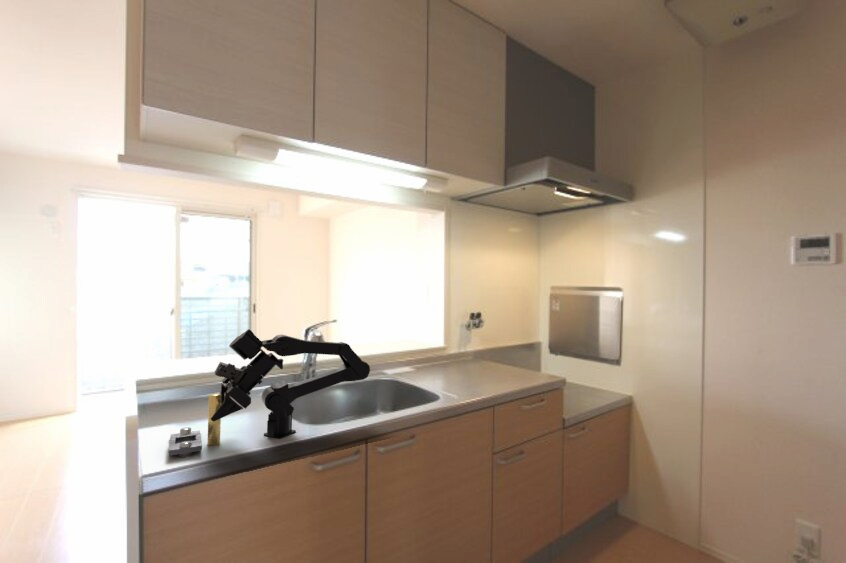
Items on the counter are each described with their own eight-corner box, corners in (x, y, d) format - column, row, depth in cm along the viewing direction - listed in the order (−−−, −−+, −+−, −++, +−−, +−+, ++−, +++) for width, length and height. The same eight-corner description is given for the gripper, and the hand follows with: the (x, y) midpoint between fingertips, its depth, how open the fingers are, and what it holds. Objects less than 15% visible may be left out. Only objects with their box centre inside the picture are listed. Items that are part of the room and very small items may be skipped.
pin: (214, 441, 109) (216, 393, 110) (222, 443, 108) (224, 394, 108) (204, 444, 106) (206, 395, 107) (212, 446, 105) (214, 396, 106)
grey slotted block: (170, 438, 111) (171, 427, 111) (199, 434, 114) (199, 424, 114) (168, 460, 96) (168, 448, 96) (201, 455, 100) (202, 443, 100)
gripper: (231, 347, 118) (186, 389, 112) (238, 356, 102) (187, 405, 96) (259, 372, 122) (217, 413, 116) (270, 384, 106) (222, 433, 100)
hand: (210, 415), depth 107 cm, fingers open, 9 cm apart
